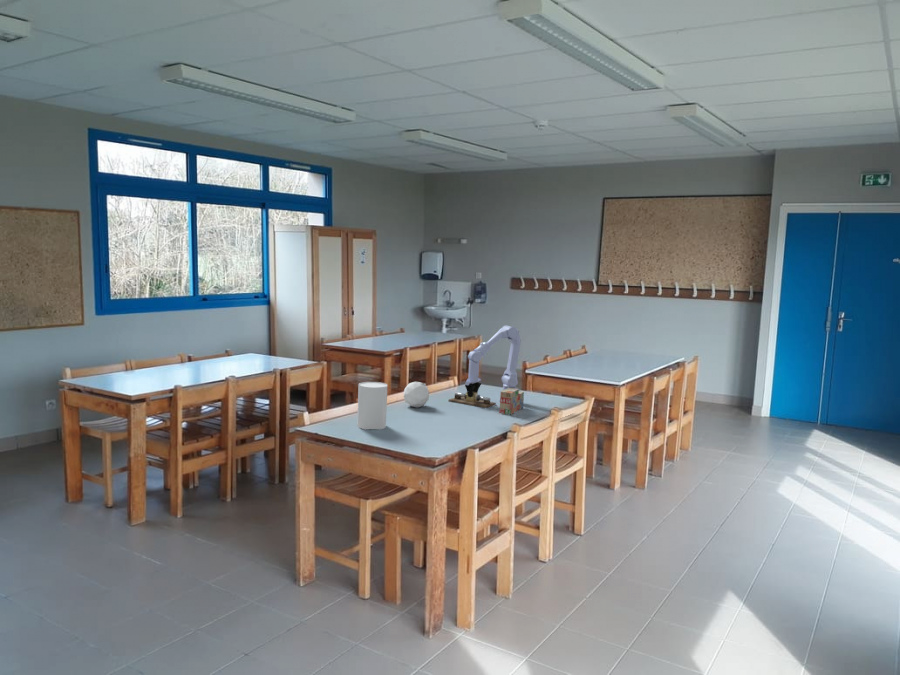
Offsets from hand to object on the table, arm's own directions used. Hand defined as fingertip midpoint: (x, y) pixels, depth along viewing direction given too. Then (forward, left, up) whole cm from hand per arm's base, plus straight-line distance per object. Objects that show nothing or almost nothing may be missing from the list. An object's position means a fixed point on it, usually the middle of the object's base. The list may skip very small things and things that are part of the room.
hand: (472, 396), depth 378 cm
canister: (+10, +79, -4) cm, 80 cm away
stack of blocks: (-25, +1, -4) cm, 26 cm away
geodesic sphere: (+18, +30, -4) cm, 35 cm away
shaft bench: (0, 0, -4) cm, 4 cm away
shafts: (0, 0, -2) cm, 2 cm away
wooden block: (0, 0, -3) cm, 3 cm away
